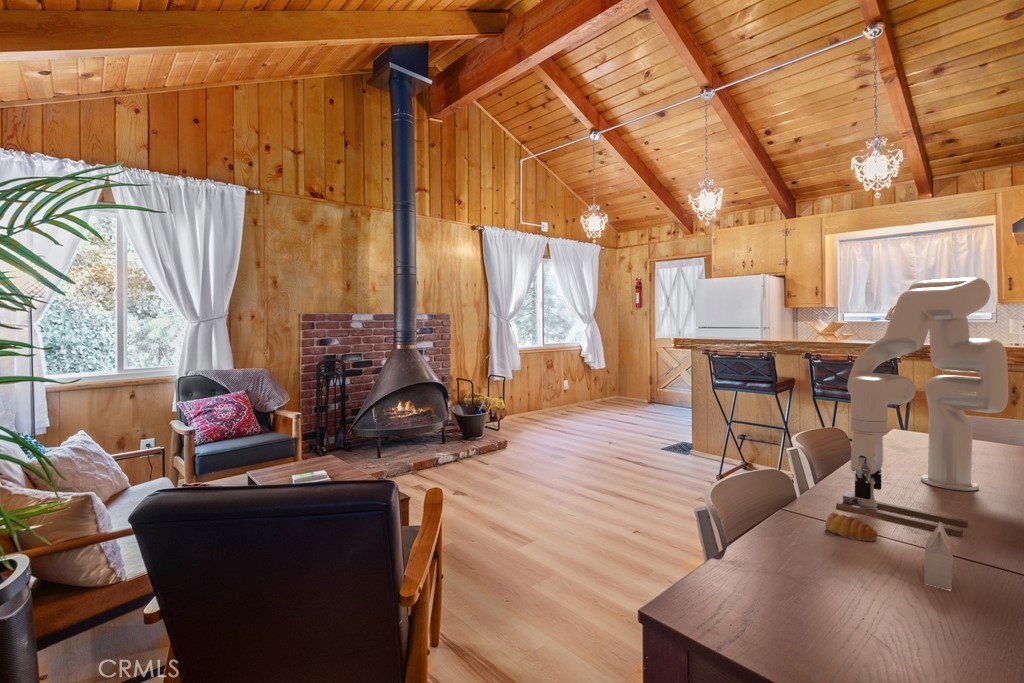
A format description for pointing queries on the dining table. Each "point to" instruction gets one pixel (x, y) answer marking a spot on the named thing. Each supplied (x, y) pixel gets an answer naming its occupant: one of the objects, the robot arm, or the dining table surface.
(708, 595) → the dining table surface
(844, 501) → the end stop
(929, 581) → the white gable top carton
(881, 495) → the dining table surface
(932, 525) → the guide track
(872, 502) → the rook chess piece
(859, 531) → the pastry
